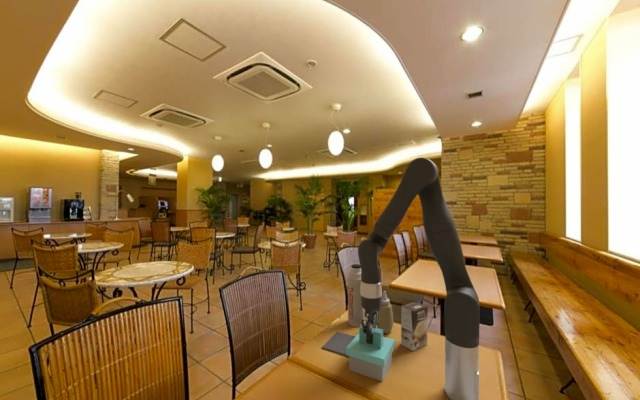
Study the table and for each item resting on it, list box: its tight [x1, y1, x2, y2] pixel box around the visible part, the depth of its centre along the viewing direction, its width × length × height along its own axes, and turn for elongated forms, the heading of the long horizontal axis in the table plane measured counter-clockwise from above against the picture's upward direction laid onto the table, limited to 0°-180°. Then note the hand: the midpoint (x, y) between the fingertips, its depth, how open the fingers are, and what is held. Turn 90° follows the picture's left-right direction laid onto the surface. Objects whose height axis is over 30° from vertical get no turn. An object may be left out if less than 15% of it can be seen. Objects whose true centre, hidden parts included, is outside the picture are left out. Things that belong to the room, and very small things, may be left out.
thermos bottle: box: [347, 263, 365, 328], centre depth 130 cm, size 8×8×28 cm
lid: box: [346, 325, 396, 367], centre depth 97 cm, size 14×14×8 cm
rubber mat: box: [321, 331, 357, 358], centre depth 111 cm, size 14×14×1 cm
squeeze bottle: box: [377, 290, 395, 335], centre depth 122 cm, size 8×8×18 cm
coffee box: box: [400, 301, 429, 352], centre depth 111 cm, size 9×6×16 cm
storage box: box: [348, 352, 393, 382], centre depth 97 cm, size 12×12×7 cm
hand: (371, 340), depth 97 cm, fingers closed on lid, 3 cm apart
